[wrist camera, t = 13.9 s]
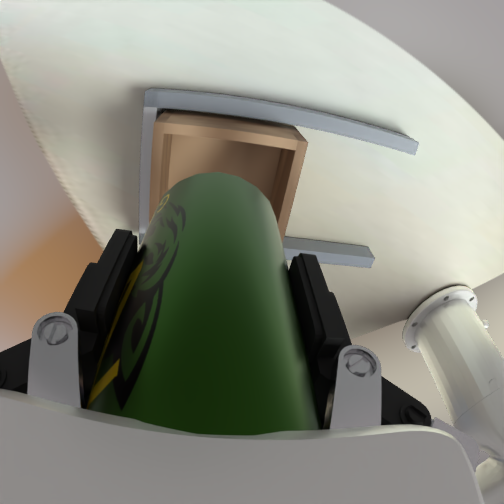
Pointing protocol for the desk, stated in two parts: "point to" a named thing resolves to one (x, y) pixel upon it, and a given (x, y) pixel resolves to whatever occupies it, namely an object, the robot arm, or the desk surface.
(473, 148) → the desk surface
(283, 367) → the green soda can
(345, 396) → the robot arm
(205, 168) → the crate
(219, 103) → the bay
